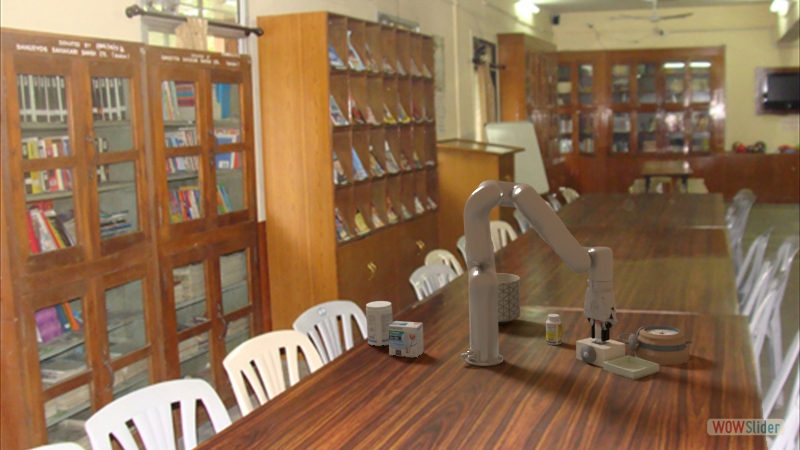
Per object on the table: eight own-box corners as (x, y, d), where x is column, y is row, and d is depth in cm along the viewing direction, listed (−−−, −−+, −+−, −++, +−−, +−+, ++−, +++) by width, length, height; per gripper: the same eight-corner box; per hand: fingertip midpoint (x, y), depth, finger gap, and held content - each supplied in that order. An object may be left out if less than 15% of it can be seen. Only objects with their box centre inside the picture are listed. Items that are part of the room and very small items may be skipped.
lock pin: (600, 353, 255) (600, 320, 253) (592, 350, 258) (592, 318, 256) (608, 351, 257) (608, 318, 255) (599, 348, 260) (600, 316, 258)
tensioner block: (599, 368, 249) (600, 350, 248) (572, 359, 259) (572, 342, 258) (624, 361, 256) (625, 343, 255) (597, 352, 266) (597, 335, 265)
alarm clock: (680, 340, 246) (609, 330, 260) (680, 368, 247) (609, 357, 261) (696, 327, 260) (628, 318, 273) (695, 354, 261) (627, 344, 274)
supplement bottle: (559, 340, 281) (559, 312, 280) (563, 344, 276) (563, 316, 274) (544, 341, 281) (543, 313, 279) (548, 345, 275) (548, 317, 274)
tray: (633, 379, 238) (633, 372, 238) (603, 370, 248) (603, 362, 247) (658, 371, 244) (659, 364, 244) (628, 362, 254) (628, 355, 254)
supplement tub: (393, 338, 290) (392, 300, 288) (394, 346, 281) (392, 306, 279) (367, 339, 290) (365, 301, 288) (367, 347, 281) (365, 307, 279)
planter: (497, 332, 294) (497, 285, 292) (461, 323, 309) (460, 278, 306) (530, 322, 307) (529, 277, 304) (494, 314, 321) (493, 271, 318)
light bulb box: (388, 355, 270) (387, 325, 269) (395, 350, 276) (394, 320, 275) (417, 358, 266) (417, 327, 265) (424, 352, 273) (423, 322, 271)
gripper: (573, 282, 259) (573, 335, 262) (612, 290, 245) (612, 347, 248) (589, 279, 263) (589, 331, 266) (628, 287, 249) (628, 342, 252)
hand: (600, 338), depth 257 cm, fingers closed on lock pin, 3 cm apart
